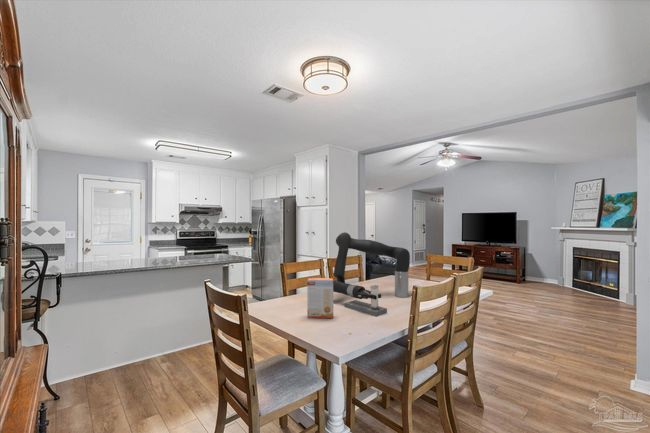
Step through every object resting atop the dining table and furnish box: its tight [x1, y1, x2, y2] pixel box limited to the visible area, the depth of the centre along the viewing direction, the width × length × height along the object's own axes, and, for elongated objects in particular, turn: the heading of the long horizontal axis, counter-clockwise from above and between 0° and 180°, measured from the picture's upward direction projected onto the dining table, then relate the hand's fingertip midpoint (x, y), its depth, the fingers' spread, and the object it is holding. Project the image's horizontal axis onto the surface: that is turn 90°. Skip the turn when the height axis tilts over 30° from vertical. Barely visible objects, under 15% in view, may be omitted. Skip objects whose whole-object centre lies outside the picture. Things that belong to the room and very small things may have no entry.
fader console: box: [344, 299, 388, 317], centre depth 186 cm, size 24×10×3 cm, turn 42°
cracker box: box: [306, 277, 334, 319], centre depth 173 cm, size 14×6×21 cm, turn 84°
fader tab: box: [370, 284, 380, 309], centre depth 180 cm, size 4×4×13 cm
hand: (378, 297), depth 178 cm, fingers open, 3 cm apart
